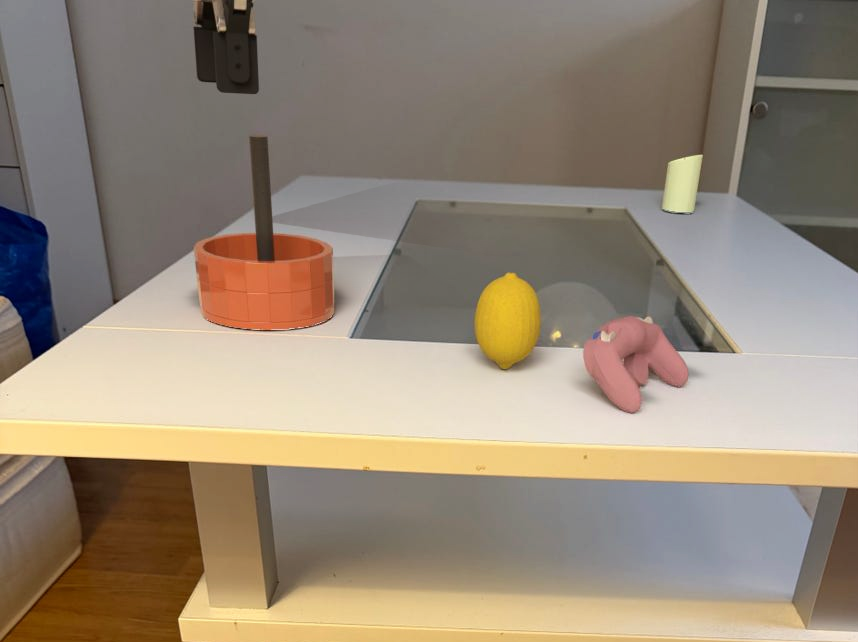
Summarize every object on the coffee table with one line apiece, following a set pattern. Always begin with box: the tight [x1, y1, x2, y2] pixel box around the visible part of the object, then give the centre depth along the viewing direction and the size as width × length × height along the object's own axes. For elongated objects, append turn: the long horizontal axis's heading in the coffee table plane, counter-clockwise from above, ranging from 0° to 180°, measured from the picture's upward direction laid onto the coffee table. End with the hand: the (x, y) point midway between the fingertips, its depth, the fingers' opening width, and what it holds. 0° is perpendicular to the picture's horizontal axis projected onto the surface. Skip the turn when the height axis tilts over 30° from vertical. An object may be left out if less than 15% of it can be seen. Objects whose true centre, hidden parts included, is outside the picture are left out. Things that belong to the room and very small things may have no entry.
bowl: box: [193, 232, 335, 330], centre depth 93 cm, size 13×13×6 cm
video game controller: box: [582, 315, 689, 414], centre depth 80 cm, size 10×5×7 cm, turn 144°
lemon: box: [474, 272, 542, 370], centre depth 82 cm, size 6×6×8 cm
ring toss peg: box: [248, 134, 275, 261], centre depth 91 cm, size 5×5×14 cm
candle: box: [661, 154, 704, 213], centre depth 151 cm, size 5×5×8 cm
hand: (226, 87), depth 81 cm, fingers open, 9 cm apart
